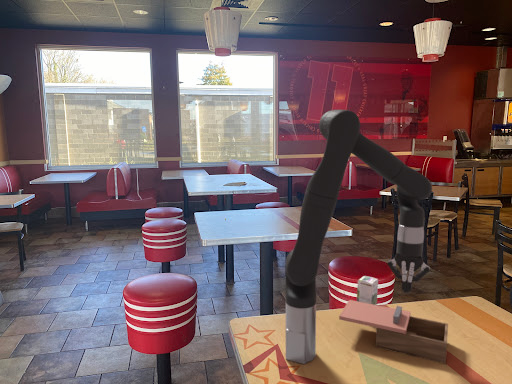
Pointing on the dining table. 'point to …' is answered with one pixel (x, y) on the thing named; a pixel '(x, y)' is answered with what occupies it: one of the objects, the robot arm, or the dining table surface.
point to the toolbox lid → (376, 316)
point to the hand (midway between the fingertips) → (406, 291)
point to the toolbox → (417, 339)
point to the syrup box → (367, 290)
